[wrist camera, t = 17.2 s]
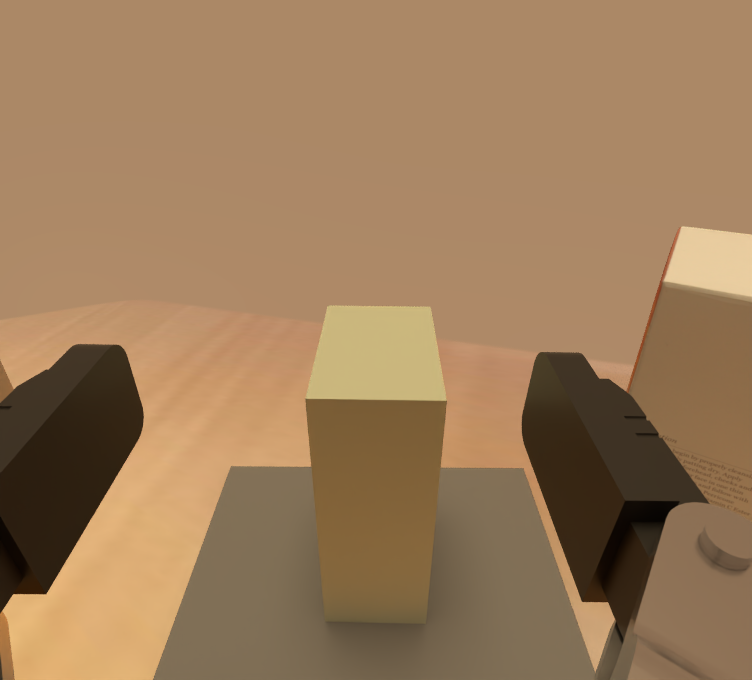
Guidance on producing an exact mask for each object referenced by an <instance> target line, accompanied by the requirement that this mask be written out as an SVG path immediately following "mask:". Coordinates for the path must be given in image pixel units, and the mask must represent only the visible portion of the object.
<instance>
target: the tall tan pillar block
mask: <svg viewBox="0 0 752 680" xmlns="http://www.w3.org/2000/svg"><path fill="white" fill-rule="evenodd" d="M305 400H306V411H307V423H308V434H309V446H310V457H311V468H312V480H313V491H314V502H315V514H316V525H317V537H318V548H319V559H320V571H321V582H322V594H323V605H324V616H325V622H366V623H411V624H426V616H427V606H428V595H429V585H430V574H431V563H432V553H433V542H434V531H435V521H436V510H437V499H438V489H439V478H440V468H441V457H442V446H443V436H444V425H445V414H446V404H447V399H446V393H445V388H444V382H443V376H442V370H441V365H440V359H439V353H438V347H437V341H436V336H435V330H434V325H433V319H432V313H431V308H430V307H400V306H399V307H398V306H397V307H395V306H328V308H327V312H326V316H325V320H324V324H323V328H322V332H321V336H320V340H319V345H318V349H317V353H316V357H315V361H314V365H313V369H312V374H311V378H310V382H309V386H308V390H307V394H306V398H305Z"/></svg>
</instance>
